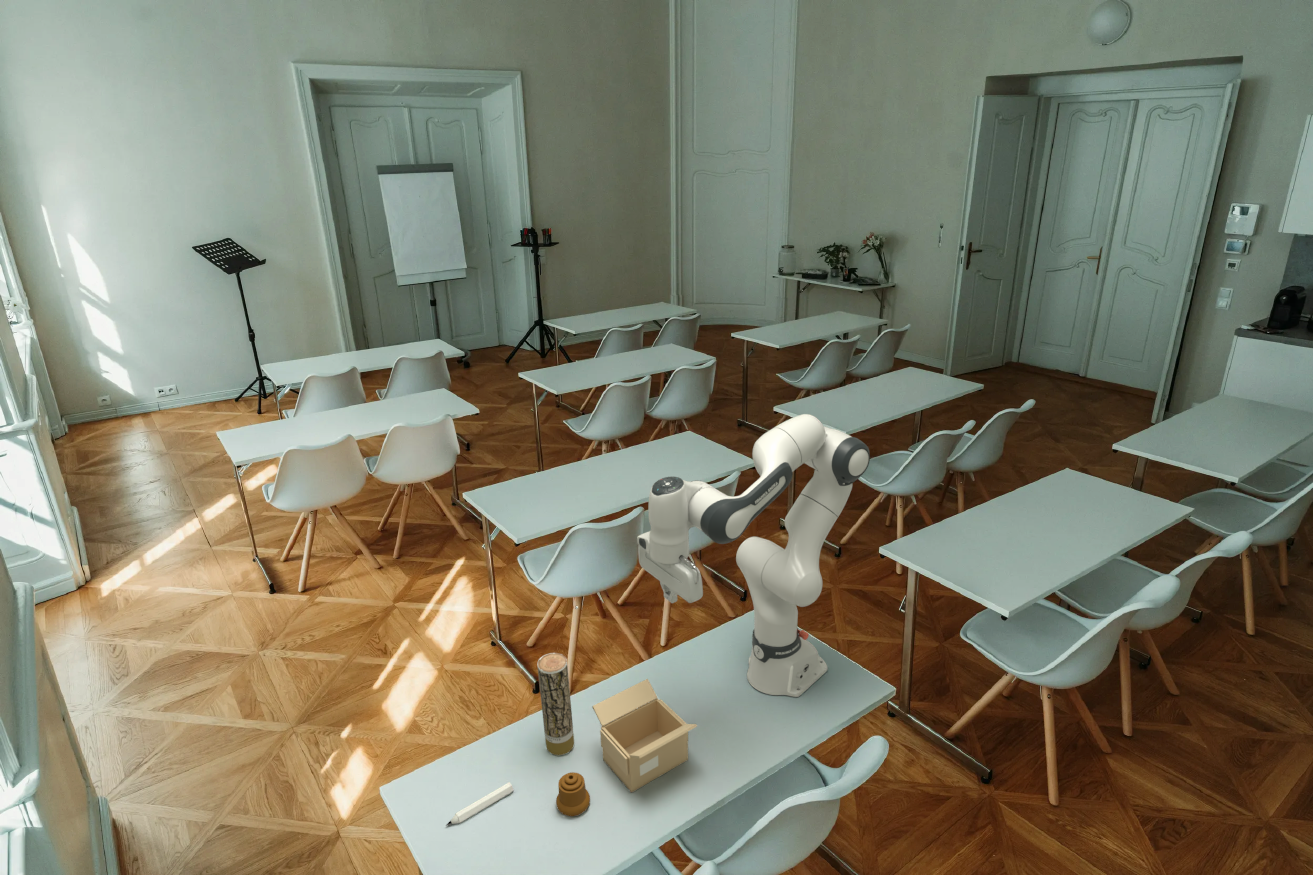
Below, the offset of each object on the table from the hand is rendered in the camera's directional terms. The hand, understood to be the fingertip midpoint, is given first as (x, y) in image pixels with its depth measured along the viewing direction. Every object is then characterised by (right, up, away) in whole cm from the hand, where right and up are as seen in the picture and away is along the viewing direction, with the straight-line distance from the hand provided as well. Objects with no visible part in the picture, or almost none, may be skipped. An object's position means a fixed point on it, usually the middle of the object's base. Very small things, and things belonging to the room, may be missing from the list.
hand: (670, 599), depth 178 cm
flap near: (-3, -31, -4) cm, 31 cm away
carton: (-6, -39, +4) cm, 39 cm away
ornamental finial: (-22, -44, -7) cm, 50 cm away
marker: (-42, -45, -7) cm, 62 cm away
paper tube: (-27, -37, +9) cm, 47 cm away
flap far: (-9, -27, +4) cm, 29 cm away
